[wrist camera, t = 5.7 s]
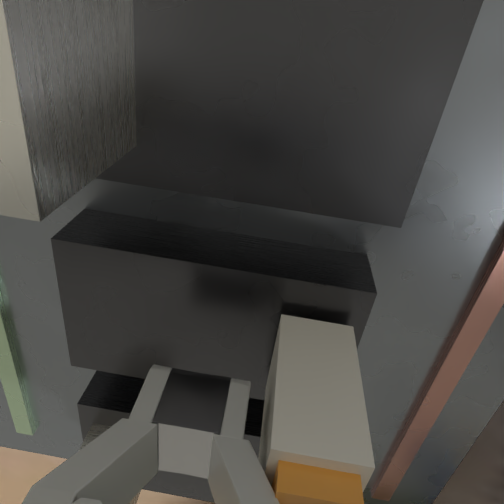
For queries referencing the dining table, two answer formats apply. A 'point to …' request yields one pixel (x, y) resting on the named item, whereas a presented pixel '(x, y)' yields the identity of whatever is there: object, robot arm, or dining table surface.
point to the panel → (253, 213)
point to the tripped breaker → (315, 416)
